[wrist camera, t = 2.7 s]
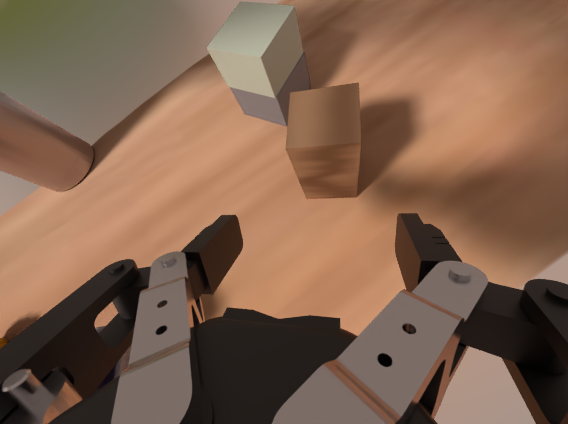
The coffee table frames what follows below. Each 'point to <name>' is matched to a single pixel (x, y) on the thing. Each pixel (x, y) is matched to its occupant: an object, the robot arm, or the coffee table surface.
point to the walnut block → (325, 140)
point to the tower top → (258, 47)
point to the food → (2, 342)
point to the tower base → (278, 106)
